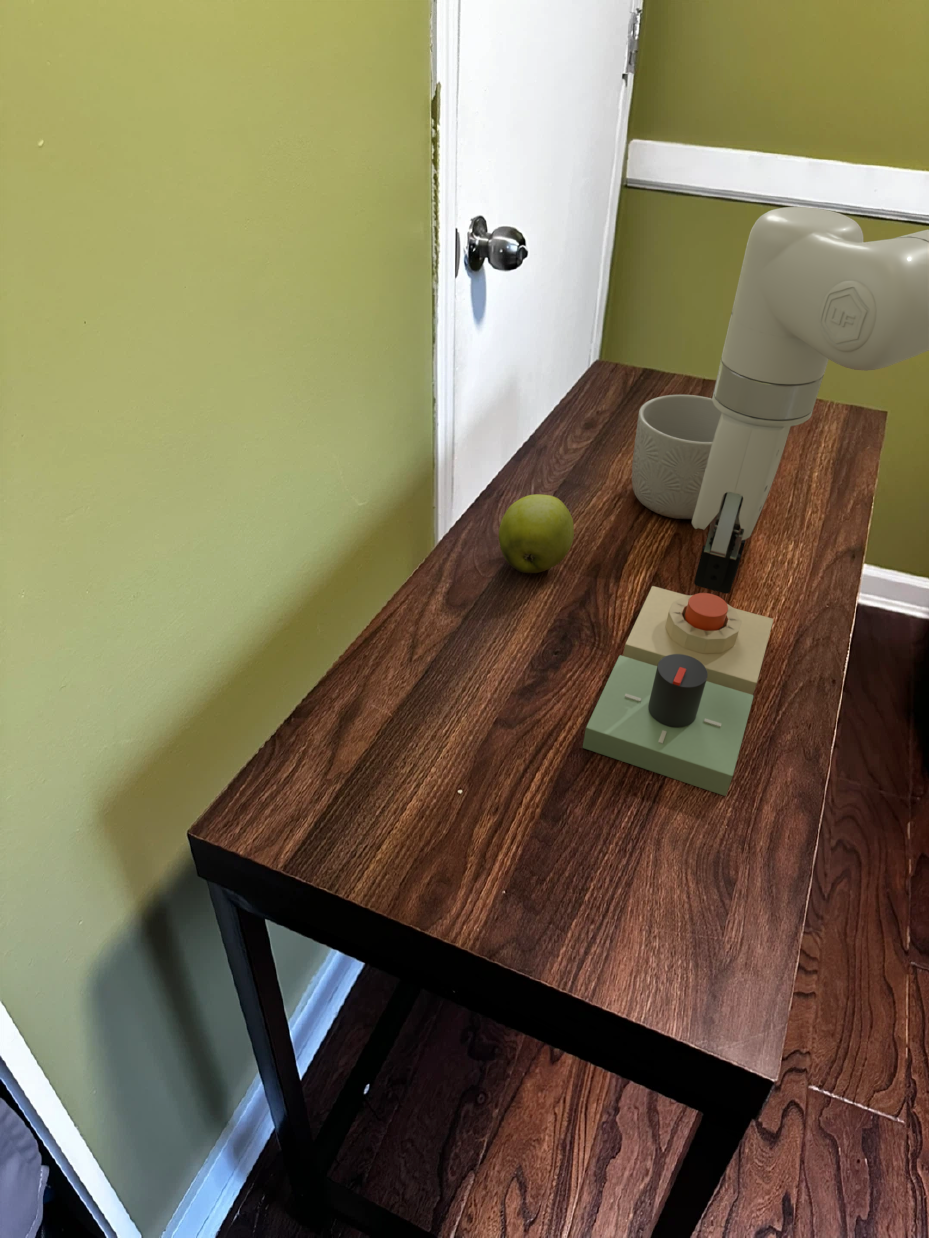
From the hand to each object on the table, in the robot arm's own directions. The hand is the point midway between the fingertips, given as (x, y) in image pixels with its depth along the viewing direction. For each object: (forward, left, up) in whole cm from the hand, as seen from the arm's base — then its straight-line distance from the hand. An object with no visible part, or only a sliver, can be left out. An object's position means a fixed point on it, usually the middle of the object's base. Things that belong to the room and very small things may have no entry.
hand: (714, 579), depth 77 cm
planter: (+8, -26, -8) cm, 28 cm away
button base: (0, 0, -8) cm, 8 cm away
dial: (0, +12, -6) cm, 13 cm away
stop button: (0, 0, -5) cm, 5 cm away
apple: (+19, -6, -8) cm, 22 cm away
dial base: (0, +12, -8) cm, 15 cm away
